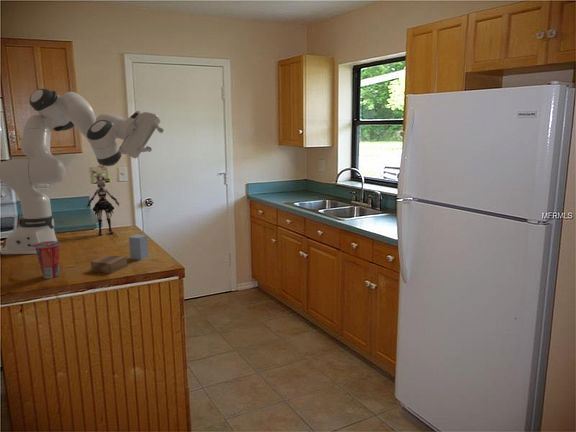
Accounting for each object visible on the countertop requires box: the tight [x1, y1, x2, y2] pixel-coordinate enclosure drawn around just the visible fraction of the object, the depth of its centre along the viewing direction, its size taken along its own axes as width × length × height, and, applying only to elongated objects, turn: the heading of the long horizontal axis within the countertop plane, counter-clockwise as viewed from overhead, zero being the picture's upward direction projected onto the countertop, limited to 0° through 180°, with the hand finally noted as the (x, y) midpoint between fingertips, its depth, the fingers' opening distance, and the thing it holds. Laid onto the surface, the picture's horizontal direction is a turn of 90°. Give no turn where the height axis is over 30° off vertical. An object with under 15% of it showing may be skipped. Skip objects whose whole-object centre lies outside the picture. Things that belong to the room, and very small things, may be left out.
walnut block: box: [90, 254, 128, 274], centre depth 180 cm, size 9×9×4 cm
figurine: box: [86, 173, 120, 237], centre depth 230 cm, size 15×6×30 cm, turn 117°
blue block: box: [128, 233, 149, 261], centre depth 193 cm, size 5×5×9 cm
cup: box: [30, 240, 61, 279], centre depth 171 cm, size 9×8×12 cm
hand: (156, 140), depth 193 cm, fingers open, 8 cm apart
